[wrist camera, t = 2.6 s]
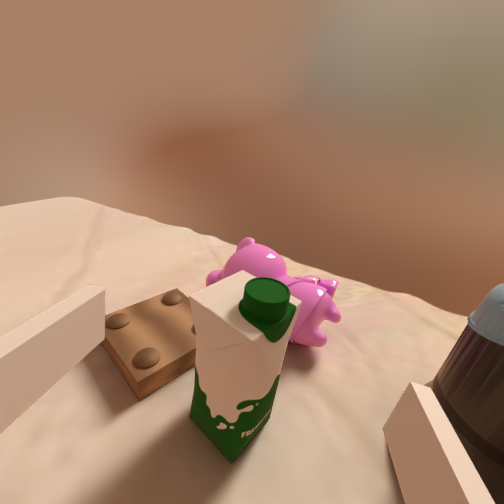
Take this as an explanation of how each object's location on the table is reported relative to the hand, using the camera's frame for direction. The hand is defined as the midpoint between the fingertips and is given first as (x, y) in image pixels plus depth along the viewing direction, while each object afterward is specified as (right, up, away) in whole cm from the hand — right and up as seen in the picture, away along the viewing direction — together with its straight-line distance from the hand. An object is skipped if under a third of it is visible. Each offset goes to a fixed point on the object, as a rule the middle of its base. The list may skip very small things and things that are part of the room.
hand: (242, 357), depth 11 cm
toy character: (+3, -8, +40) cm, 41 cm away
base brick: (-14, -10, +31) cm, 35 cm away
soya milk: (-2, -16, +21) cm, 27 cm away
